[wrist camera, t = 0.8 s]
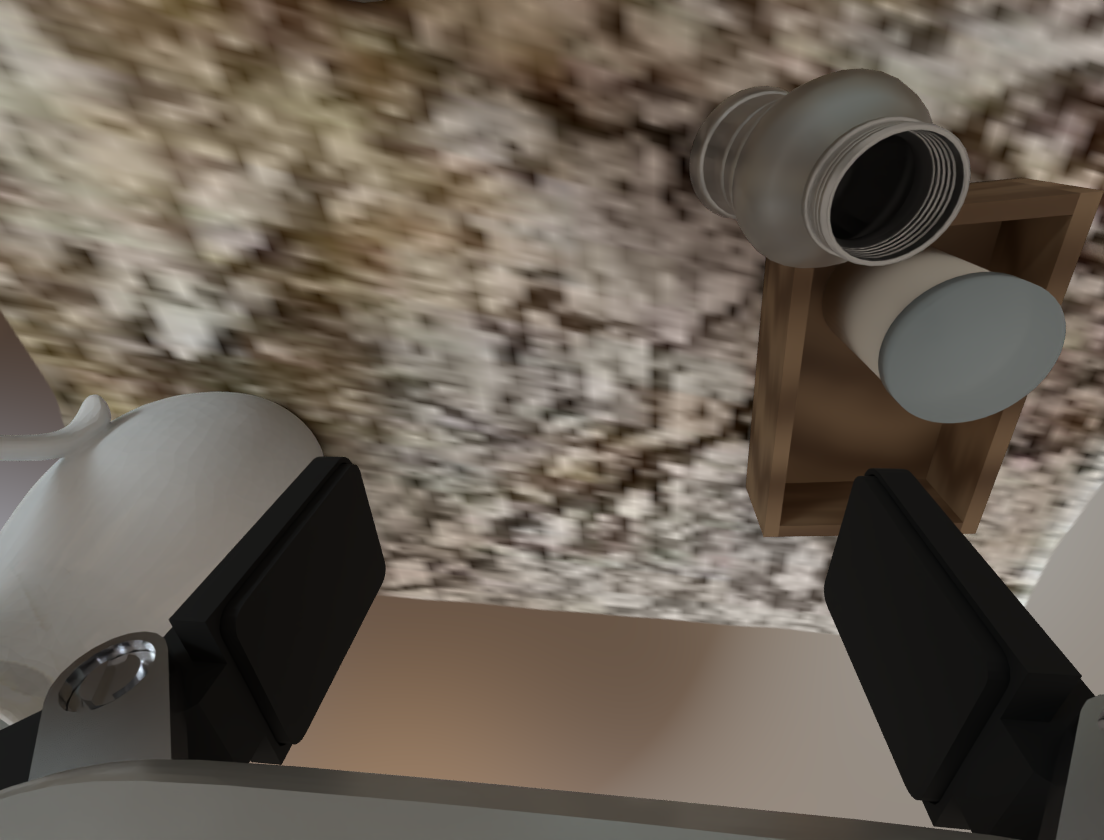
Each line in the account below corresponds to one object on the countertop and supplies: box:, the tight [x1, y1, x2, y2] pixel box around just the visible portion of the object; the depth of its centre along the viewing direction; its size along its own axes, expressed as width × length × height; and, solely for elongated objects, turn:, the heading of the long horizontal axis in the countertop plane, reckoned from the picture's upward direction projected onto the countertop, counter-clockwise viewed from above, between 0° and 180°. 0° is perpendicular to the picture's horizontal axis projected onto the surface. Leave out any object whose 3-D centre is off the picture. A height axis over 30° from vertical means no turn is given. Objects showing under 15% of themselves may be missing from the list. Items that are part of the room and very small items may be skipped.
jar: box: [822, 246, 1066, 423], centre depth 29 cm, size 7×7×10 cm
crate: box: [746, 178, 1104, 537], centre depth 35 cm, size 22×14×6 cm, turn 6°
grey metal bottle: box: [689, 68, 971, 268], centre depth 23 cm, size 6×7×20 cm
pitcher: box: [0, 392, 324, 730], centre depth 33 cm, size 24×17×28 cm
